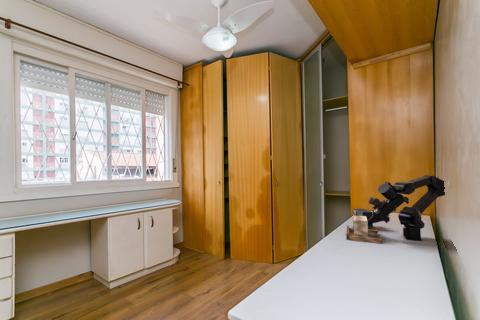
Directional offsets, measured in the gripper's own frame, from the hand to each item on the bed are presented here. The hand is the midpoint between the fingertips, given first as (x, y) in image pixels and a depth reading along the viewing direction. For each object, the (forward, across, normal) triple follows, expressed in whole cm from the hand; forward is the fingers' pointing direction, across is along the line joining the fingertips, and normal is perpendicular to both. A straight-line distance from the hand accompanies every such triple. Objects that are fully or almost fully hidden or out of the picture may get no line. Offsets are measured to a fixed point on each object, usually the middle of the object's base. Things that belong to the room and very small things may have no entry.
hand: (367, 223), depth 118 cm
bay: (+7, 0, +3) cm, 8 cm away
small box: (+6, -20, +4) cm, 21 cm away
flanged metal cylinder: (+8, -15, +2) cm, 17 cm away
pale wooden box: (+7, 0, +3) cm, 8 cm away
